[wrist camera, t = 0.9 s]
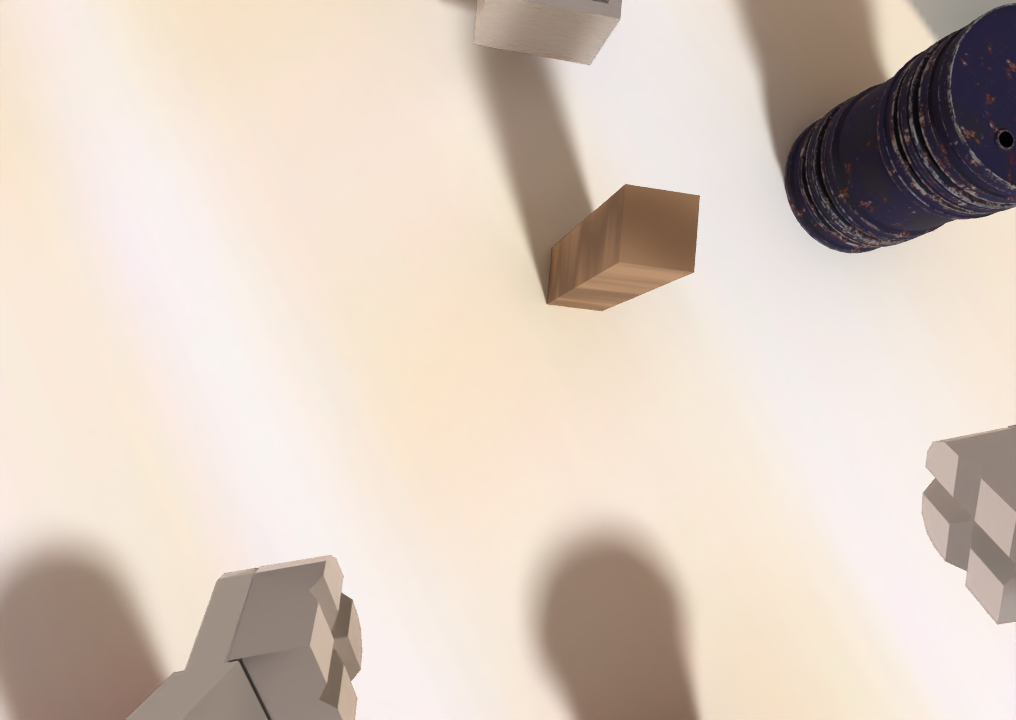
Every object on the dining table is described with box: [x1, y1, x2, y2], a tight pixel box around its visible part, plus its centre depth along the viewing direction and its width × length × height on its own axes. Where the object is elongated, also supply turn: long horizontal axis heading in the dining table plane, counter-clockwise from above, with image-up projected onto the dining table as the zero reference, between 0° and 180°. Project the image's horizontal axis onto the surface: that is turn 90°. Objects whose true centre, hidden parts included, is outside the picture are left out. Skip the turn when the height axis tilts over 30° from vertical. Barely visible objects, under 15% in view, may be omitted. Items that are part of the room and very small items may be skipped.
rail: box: [547, 184, 700, 311], centre depth 42 cm, size 4×4×14 cm
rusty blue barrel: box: [785, 3, 1016, 253], centre depth 46 cm, size 10×10×15 cm
